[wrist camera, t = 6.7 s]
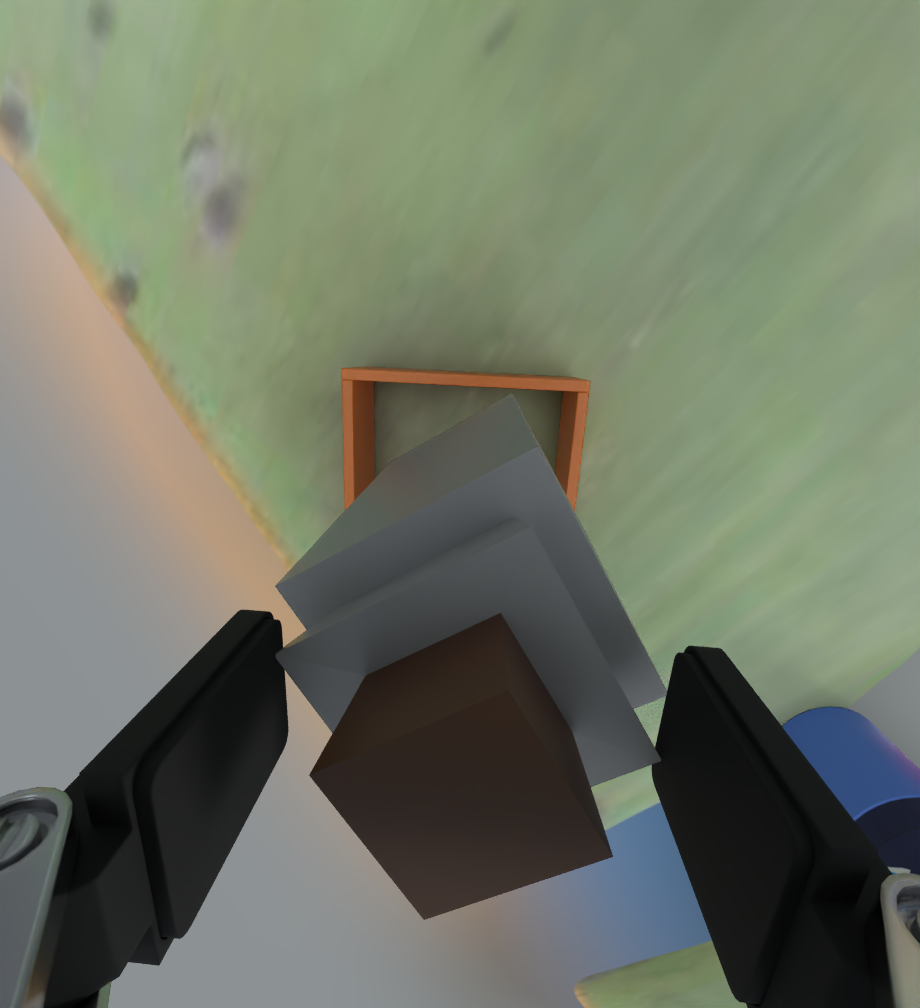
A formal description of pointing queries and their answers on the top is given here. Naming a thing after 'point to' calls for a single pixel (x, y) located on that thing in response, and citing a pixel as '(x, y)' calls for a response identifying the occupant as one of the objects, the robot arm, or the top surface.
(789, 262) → the top surface
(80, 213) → the top surface
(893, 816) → the water bottle
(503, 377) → the box
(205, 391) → the top surface
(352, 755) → the perfume bottle
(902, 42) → the top surface
